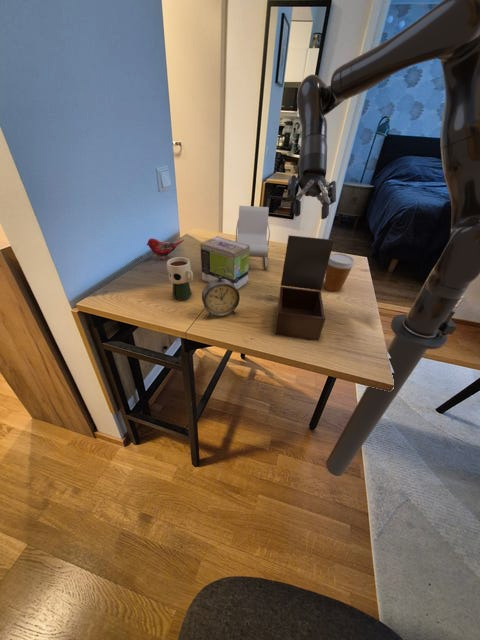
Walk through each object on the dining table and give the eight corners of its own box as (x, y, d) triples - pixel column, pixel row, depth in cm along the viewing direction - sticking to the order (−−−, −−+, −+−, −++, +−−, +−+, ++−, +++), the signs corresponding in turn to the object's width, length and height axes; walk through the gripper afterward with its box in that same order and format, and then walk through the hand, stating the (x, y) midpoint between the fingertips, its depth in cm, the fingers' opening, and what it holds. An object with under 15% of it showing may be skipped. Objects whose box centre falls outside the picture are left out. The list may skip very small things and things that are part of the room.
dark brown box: (318, 340, 74) (325, 319, 70) (274, 334, 76) (278, 312, 71) (315, 311, 86) (320, 291, 81) (277, 306, 87) (280, 286, 82)
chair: (264, 248, 126) (269, 205, 114) (266, 272, 107) (272, 223, 95) (237, 246, 126) (238, 204, 114) (234, 270, 107) (235, 221, 95)
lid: (334, 240, 72) (333, 239, 73) (288, 235, 73) (288, 235, 74) (321, 290, 80) (321, 289, 81) (280, 285, 82) (280, 284, 82)
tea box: (248, 282, 99) (251, 244, 90) (233, 293, 93) (234, 254, 84) (217, 270, 106) (217, 234, 97) (201, 280, 99) (199, 242, 90)
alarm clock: (204, 321, 79) (202, 273, 69) (201, 311, 83) (199, 264, 73) (239, 316, 82) (241, 269, 72) (234, 307, 86) (236, 261, 76)
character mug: (163, 295, 89) (157, 260, 81) (177, 287, 94) (173, 253, 86) (187, 306, 85) (183, 270, 77) (201, 297, 90) (199, 262, 82)
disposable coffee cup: (323, 279, 104) (331, 250, 97) (348, 286, 100) (358, 257, 93) (316, 289, 97) (324, 259, 90) (342, 297, 94) (352, 266, 86)
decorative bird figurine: (147, 262, 109) (143, 238, 103) (183, 252, 119) (181, 230, 113) (151, 264, 107) (146, 241, 101) (187, 254, 117) (185, 232, 111)
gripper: (295, 147, 68) (294, 210, 70) (343, 155, 72) (340, 215, 73) (284, 161, 76) (283, 218, 77) (327, 168, 79) (325, 222, 80)
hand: (311, 217), depth 75 cm, fingers open, 8 cm apart
